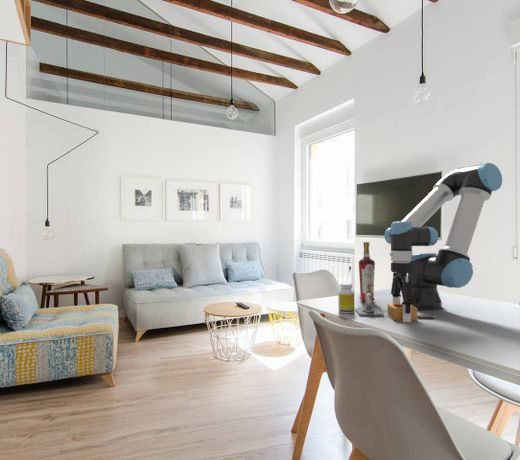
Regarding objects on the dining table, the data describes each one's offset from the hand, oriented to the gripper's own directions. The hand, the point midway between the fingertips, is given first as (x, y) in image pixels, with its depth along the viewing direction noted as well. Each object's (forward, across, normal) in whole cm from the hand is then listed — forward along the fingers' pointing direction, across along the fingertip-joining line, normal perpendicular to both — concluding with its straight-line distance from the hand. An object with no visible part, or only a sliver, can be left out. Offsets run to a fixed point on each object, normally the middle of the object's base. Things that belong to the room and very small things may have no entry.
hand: (401, 317), depth 136 cm
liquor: (0, -31, -7) cm, 32 cm away
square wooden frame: (0, 0, 0) cm, 0 cm away
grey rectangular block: (0, 0, +9) cm, 9 cm away
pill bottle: (0, -9, -19) cm, 21 cm away
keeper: (0, -7, -11) cm, 13 cm away
